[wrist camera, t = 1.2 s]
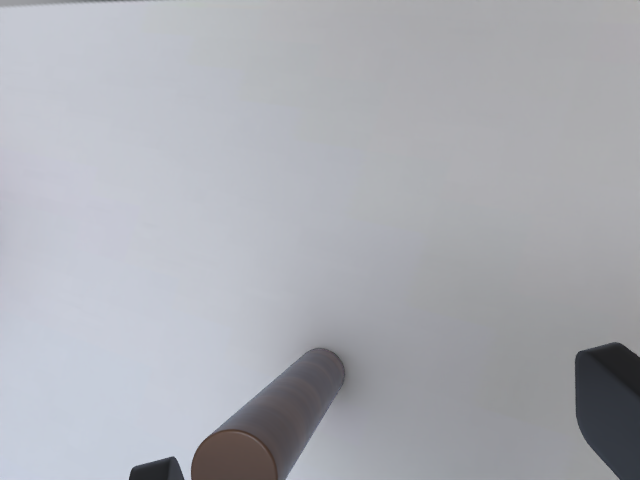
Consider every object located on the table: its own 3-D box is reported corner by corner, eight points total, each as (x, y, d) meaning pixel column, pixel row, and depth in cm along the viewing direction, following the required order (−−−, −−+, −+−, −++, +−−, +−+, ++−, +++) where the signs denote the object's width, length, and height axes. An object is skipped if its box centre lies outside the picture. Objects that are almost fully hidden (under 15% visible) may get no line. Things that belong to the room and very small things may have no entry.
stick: (307, 340, 34) (209, 414, 18) (352, 360, 33) (291, 454, 18) (289, 385, 34) (176, 496, 18) (333, 405, 34) (257, 539, 18)
